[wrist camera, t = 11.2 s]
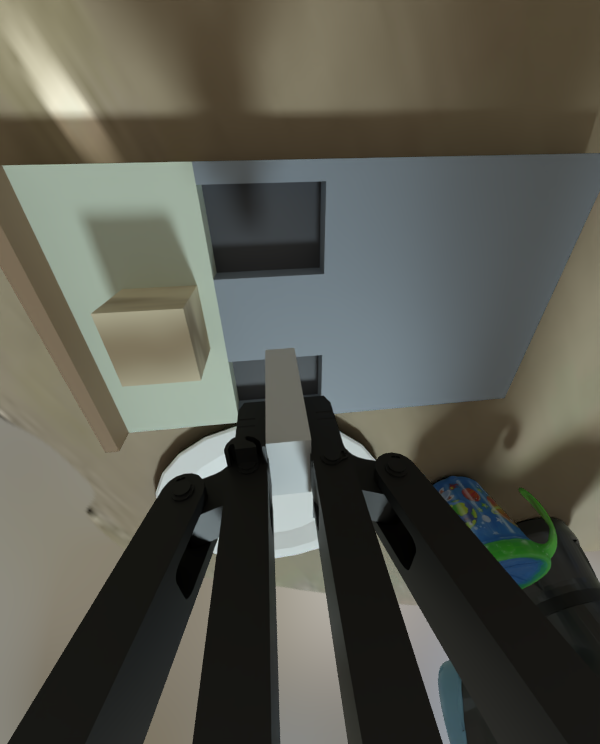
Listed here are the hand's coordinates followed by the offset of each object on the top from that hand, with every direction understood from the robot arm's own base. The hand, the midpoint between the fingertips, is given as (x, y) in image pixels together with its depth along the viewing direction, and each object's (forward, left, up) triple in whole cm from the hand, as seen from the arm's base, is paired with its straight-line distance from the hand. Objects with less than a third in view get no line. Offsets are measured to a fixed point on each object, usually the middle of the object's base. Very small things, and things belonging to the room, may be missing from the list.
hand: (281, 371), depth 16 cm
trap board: (0, -3, -8) cm, 8 cm away
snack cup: (-26, -20, -8) cm, 34 cm away
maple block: (+1, +7, -6) cm, 9 cm away
